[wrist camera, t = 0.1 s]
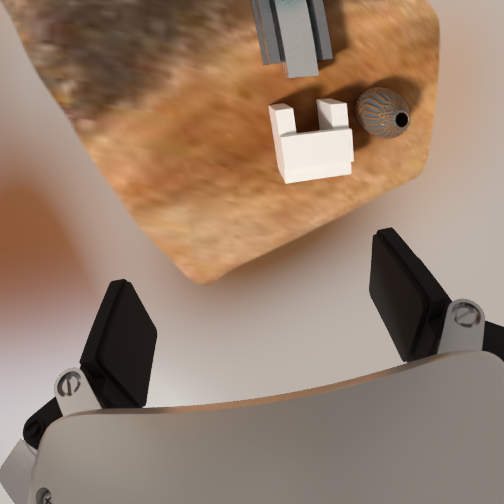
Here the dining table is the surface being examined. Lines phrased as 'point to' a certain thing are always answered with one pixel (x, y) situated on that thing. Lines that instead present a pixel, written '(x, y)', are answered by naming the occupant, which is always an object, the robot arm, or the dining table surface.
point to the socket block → (313, 142)
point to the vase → (382, 112)
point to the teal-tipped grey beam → (295, 38)
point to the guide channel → (269, 35)
